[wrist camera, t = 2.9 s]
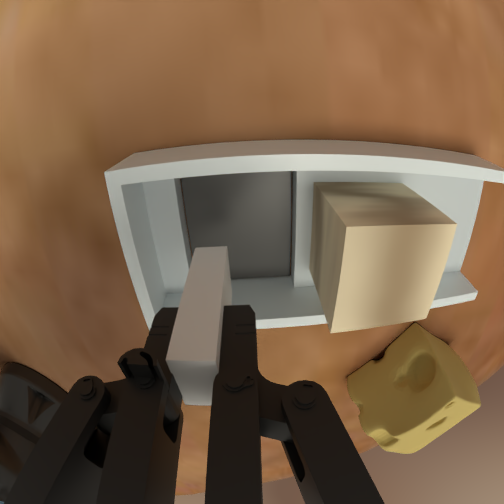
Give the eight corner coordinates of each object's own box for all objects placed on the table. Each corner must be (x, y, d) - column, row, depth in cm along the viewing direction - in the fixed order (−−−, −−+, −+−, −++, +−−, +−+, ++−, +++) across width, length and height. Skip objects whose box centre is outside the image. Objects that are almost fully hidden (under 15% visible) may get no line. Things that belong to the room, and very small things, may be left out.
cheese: (343, 377, 29) (364, 455, 20) (417, 314, 25) (462, 394, 16) (391, 392, 32) (412, 454, 24) (453, 342, 28) (487, 404, 19)
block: (309, 268, 19) (330, 333, 14) (313, 182, 16) (346, 226, 11) (388, 262, 19) (425, 318, 14) (402, 183, 16) (457, 223, 11)
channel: (163, 289, 22) (149, 331, 18) (134, 153, 16) (104, 172, 13) (448, 269, 22) (474, 299, 18) (475, 155, 17) (513, 173, 13)
